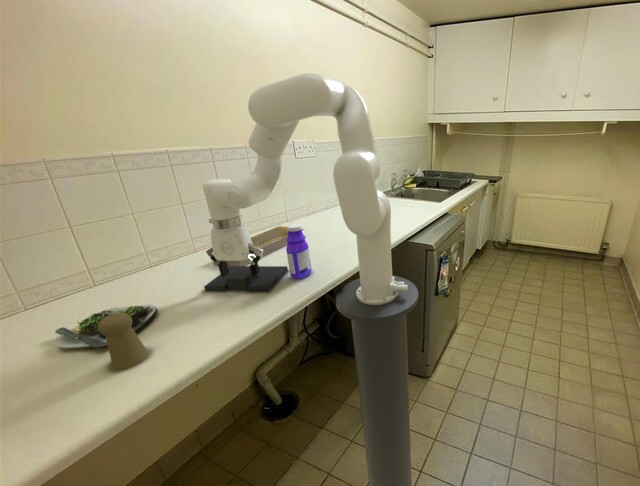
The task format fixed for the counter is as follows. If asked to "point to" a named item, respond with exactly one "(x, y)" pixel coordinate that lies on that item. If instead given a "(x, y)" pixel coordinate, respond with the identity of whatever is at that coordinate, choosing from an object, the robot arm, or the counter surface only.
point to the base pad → (262, 283)
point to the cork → (122, 341)
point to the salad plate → (88, 328)
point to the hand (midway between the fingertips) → (240, 274)
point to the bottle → (297, 252)
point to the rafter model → (263, 238)
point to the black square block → (240, 280)
